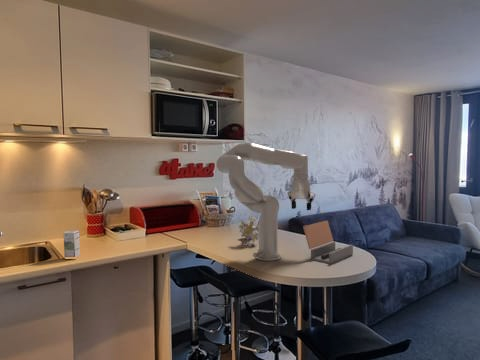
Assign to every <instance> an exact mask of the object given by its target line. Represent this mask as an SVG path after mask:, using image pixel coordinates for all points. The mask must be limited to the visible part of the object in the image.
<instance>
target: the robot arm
mask: <svg viewBox="0 0 480 360" xmlns="http://www.w3.org/2000/svg"><path fill="white" fill-rule="evenodd" d="M308 158H309V157H308V155H307V154H300V153H297V152H295V151H294V152H293V151H290V150H283V149H278V148H274V147H268V146H264V145H261V144H258V143H253V142H244V143H243V142H242V143H238V144H236V145H234V146H233V147H232V148H230V149H229V150H228V151H226V152H225V153H223V154H222V155H220V156H219V157H218V158H217V160H216V164H215V165H216V168H217V170H218V171H219V172H221V173H222V174H228V180H229V181H228V182H229V185H230V188H231V189H233V190H234V196H235V198H236V200H237V201H238V202H239V203H241V204H242V205H243V206H245V207H246V208H247V209H249V210H250V211H252V212H253V213H256V214H257V213H258V214H260V216H259V219H258V223H259V233H258V234H259V236H258V237H259V239H258V249H257V252H254V253H253V254H252V256H253V258H256V259H257V260H260V261H265V262H267V261H268V262H270V261H272V262H274V261H278V260H280V259H281V258H282V255H281V254H280V253H279V249H278V248H279V246H278V244H279V243H278V241H279V238H278V232H279V231H278V217H279V211H280V203H279V200H278V198H277V197H275V196H272V195H267V194H264V193H263V190H262V189H261V187H260V186H258V185H257V184H256V183H254V182H253V181H252V180H251V179H250V178H248V177H247V175H246V174H245V162H244V161H251V162H256V163H259V164H263V165H270V166H280V167H281V168H283V169H286V170H287V169H289V170H290V169H291V170H292V169H293V175H292V179H293V180H292V181H291V185H290V188H291V189H290V191H289V192H287V196H288V199H289V200H290V203H291V209H292V210H294V209H295V210H296V209H297V201H296V200H297V199H298V200H306V211H311V210H312V203H313V201H314V200H315V197H316V195H317V194H316V193H314V192H312V191H311V184H310V180H309V165H308V164H309V162H308V161H309V159H308Z"/></svg>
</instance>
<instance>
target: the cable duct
mask: <svg viewBox="0 0 480 360" xmlns="http://www.w3.org/2000/svg"><path fill="white" fill-rule="evenodd" d="M340 248H341V249H339V250H336V251H333V250H335V249H336V241H332V242H329V243H326V244H324V245H321V246H318V247H315V248H312V249H310V260H311V261H315V262H320V263H325V264H329V265H332V264H335V263H336V262H339V261H342V260H344V259H346V258H349V257H350V255H351V256H353V255H354V253H353V252H354V245H353V244H349V245H347V246H344V247H340ZM330 251H333V252H331V253H329V258H326V259H321V255H322V254H325V253H328V252H330ZM352 254H353V255H352Z"/></svg>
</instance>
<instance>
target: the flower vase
mask: <svg viewBox="0 0 480 360" xmlns="http://www.w3.org/2000/svg"><path fill="white" fill-rule="evenodd" d="M246 216H247V218H248V220H249V223H246V221H245V220H243V219H241V224H240V225H238V228H239V233H241V235H240V236H241V237H242V238H243V237H244V238H246V240H247V241H248V240H249V241H248V242H247V243H245V244H244V245H245V246H244V247H246V246H248V248H249V247H250V248H251V247H252V246H253V247H255V246H257V244H255V243H254V242H255V241H259V220H257V219H255V217H254V216H253V215H252V216H251V217H250V215H246ZM254 224H257V225H256V226H254ZM251 240H252V241H251Z"/></svg>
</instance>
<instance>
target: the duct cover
mask: <svg viewBox="0 0 480 360" xmlns="http://www.w3.org/2000/svg"><path fill="white" fill-rule="evenodd" d="M302 228H303V231H304V235H305V239H306V243H307V246H308V250H311V249H314V248H317V247H320V246H323V245H326V244H329V243H332V242H334V237H333V234H332V231H331V227H330V224H329V221H328V220H323V221H318V222H315V223H311V224H307V225H303V226H302Z"/></svg>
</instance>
